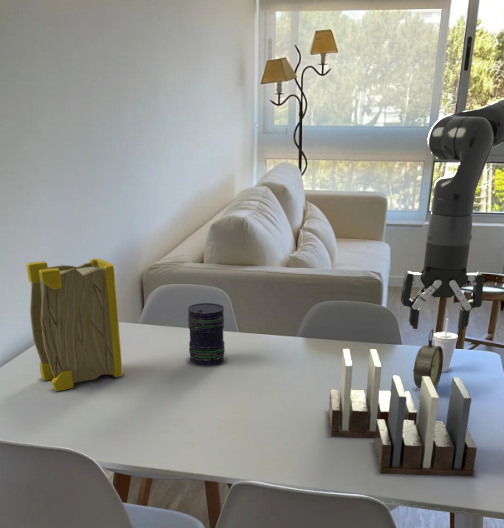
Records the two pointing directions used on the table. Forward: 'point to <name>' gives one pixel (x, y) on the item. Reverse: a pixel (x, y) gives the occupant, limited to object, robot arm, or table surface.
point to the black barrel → (206, 334)
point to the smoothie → (445, 345)
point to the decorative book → (75, 321)
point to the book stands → (410, 437)
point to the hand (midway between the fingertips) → (437, 328)
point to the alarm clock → (428, 363)
